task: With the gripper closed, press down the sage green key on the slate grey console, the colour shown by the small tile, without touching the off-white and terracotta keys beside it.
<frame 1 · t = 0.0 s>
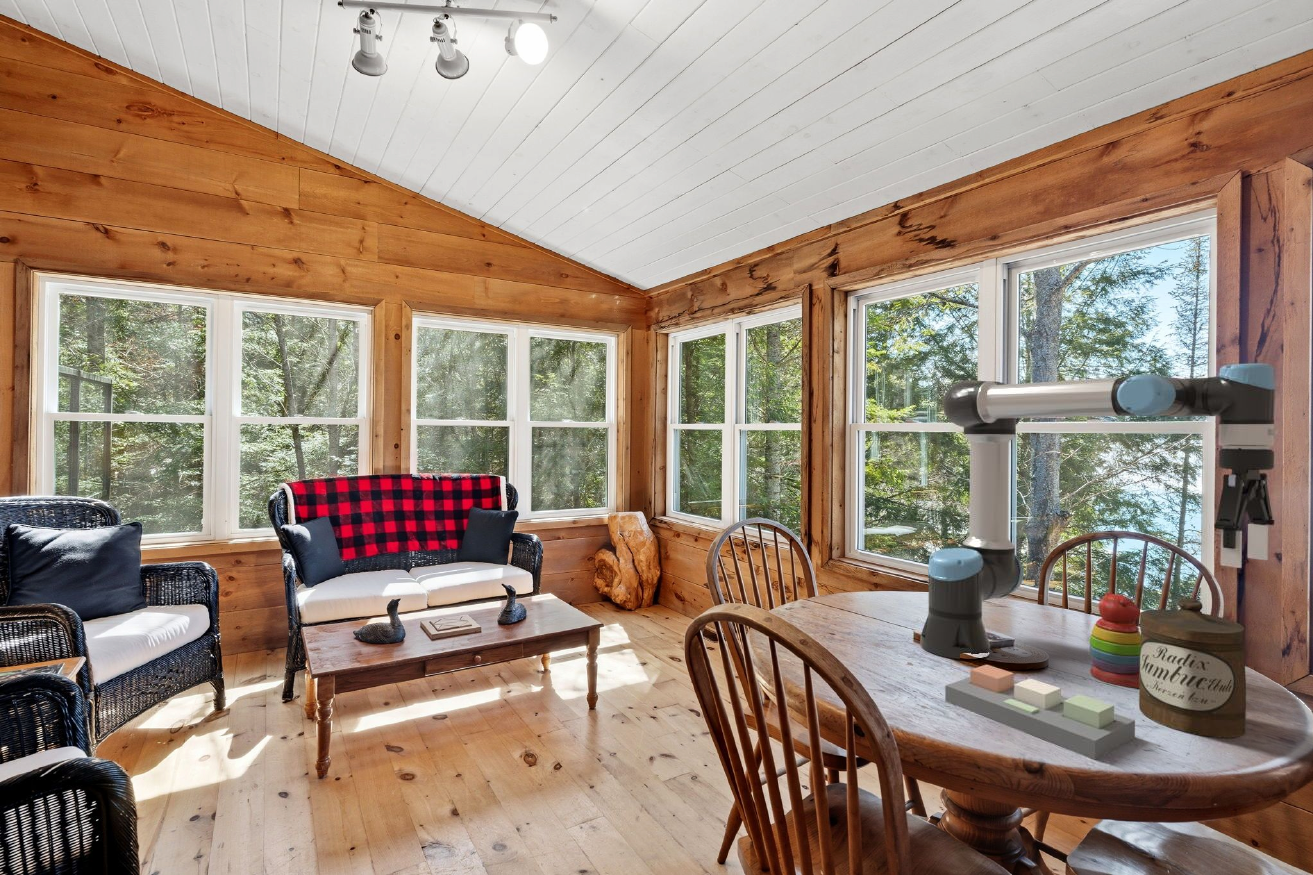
hand: (1244, 562, 118), 28 cm above the table, tool pointing down, fingers open, 13 cm apart
console: (1034, 718, 116), on the table
stacking bear: (1117, 679, 135), on the table
terracotta key: (991, 679, 124), point 4 cm above the table, slide at 0.0 cm
wooden container: (1190, 720, 116), on the table
sage green key: (1088, 711, 109), point 4 cm above the table, slide at 0.0 cm
off-white key: (1037, 694, 117), point 4 cm above the table, slide at 0.0 cm
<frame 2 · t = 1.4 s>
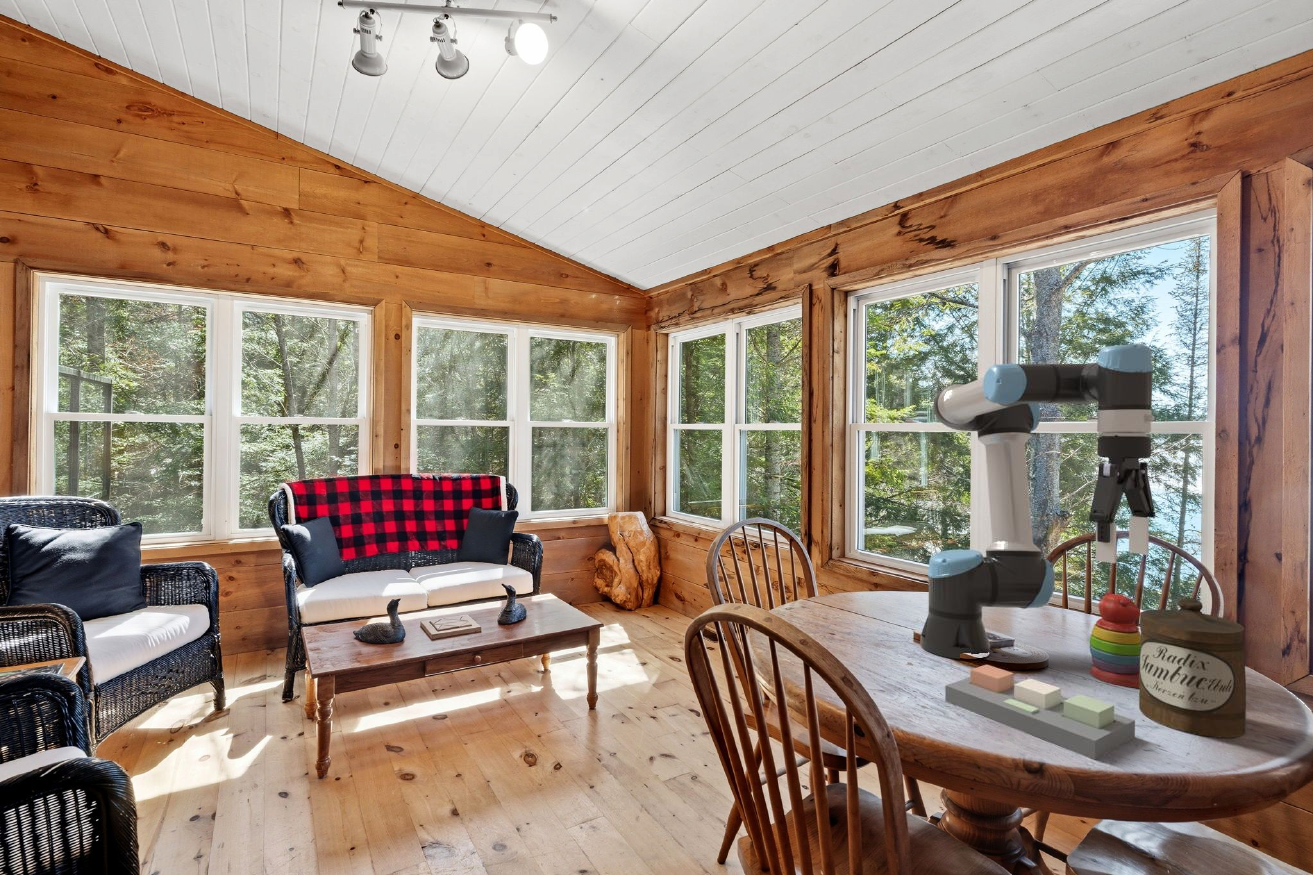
hand: (1122, 557, 111), 30 cm above the table, tool pointing down, fingers open, 13 cm apart
nothing on the table moved.
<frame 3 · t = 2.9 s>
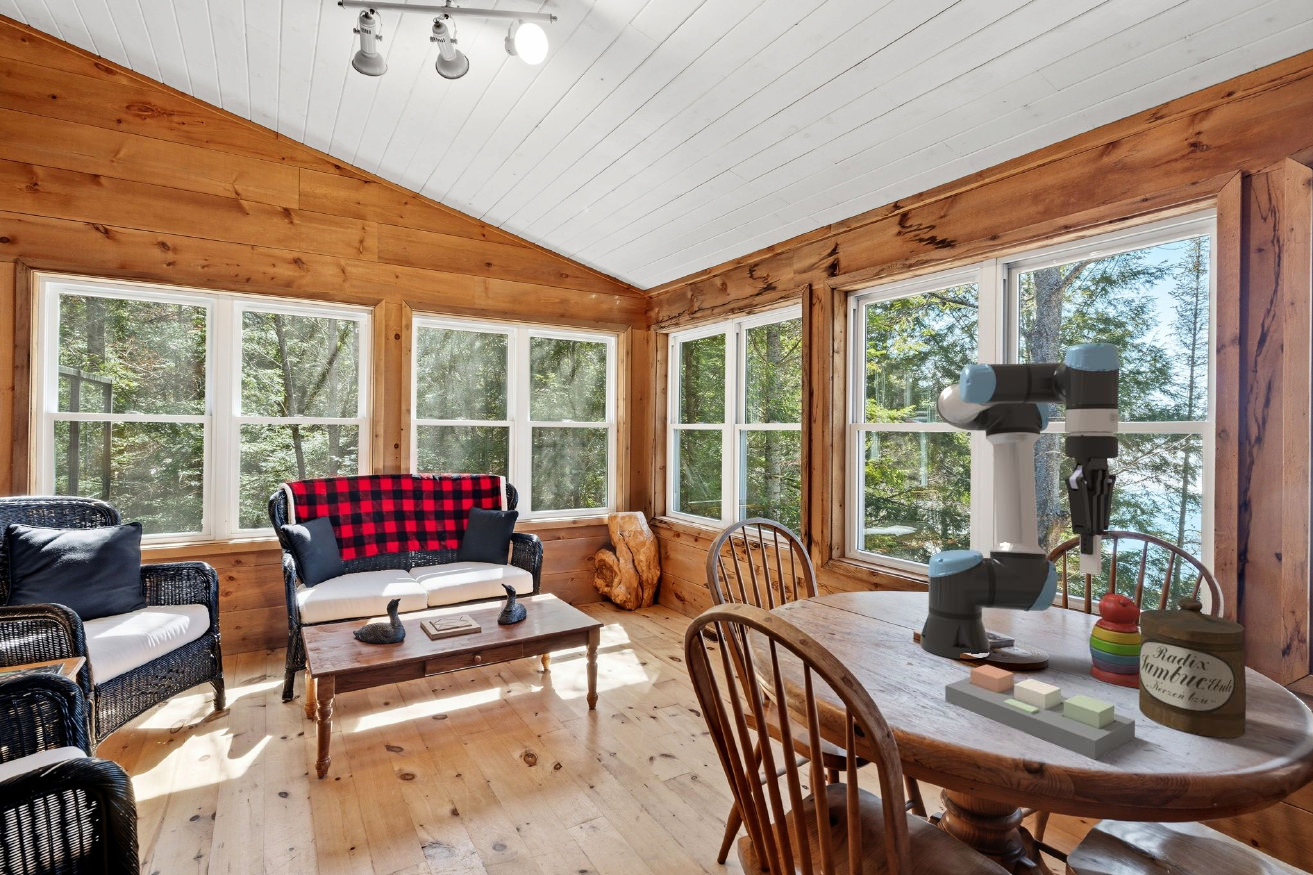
hand: (1090, 572, 109), 28 cm above the table, tool pointing down, fingers closed
nothing on the table moved.
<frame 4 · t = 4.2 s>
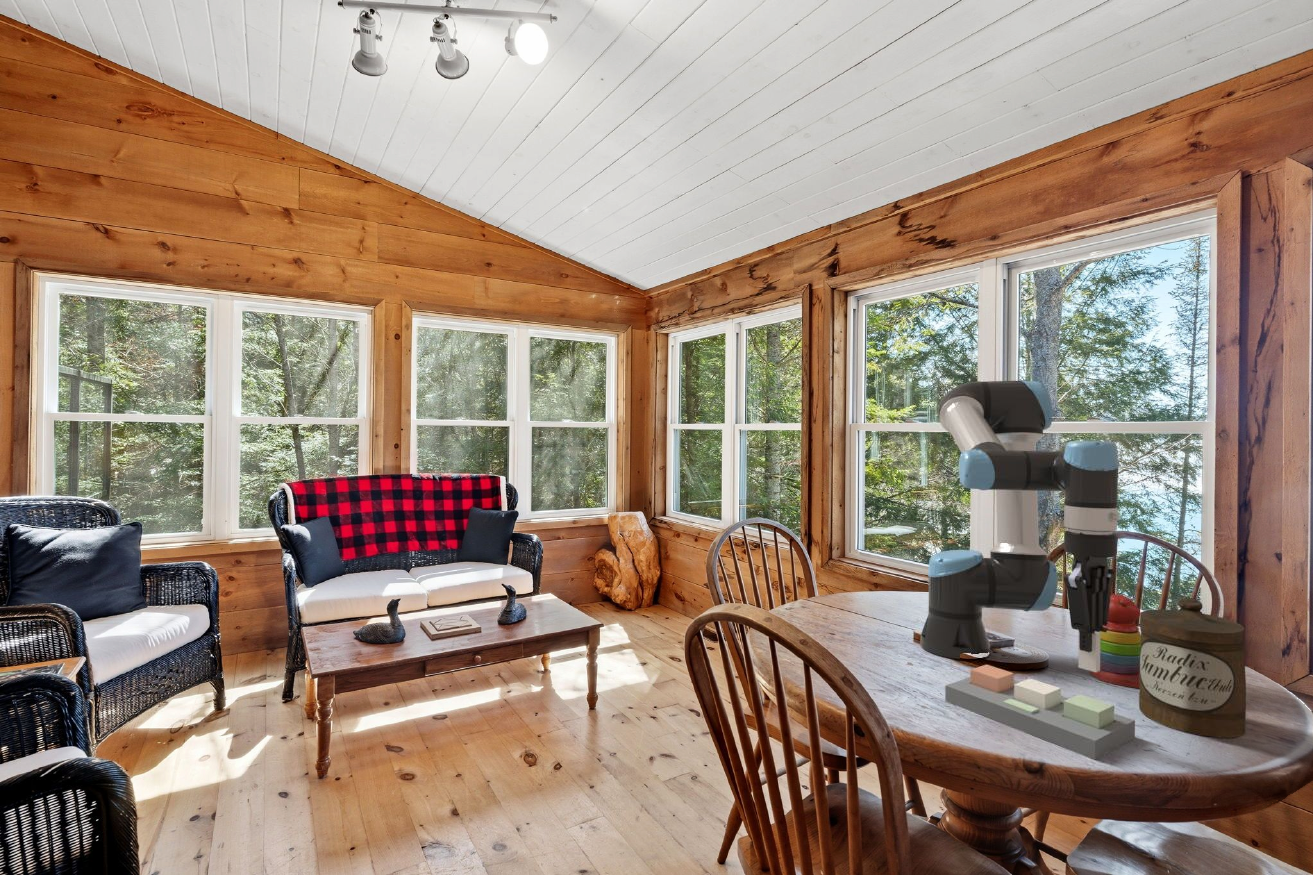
hand: (1089, 668, 109), 11 cm above the table, tool pointing down, fingers closed
nothing on the table moved.
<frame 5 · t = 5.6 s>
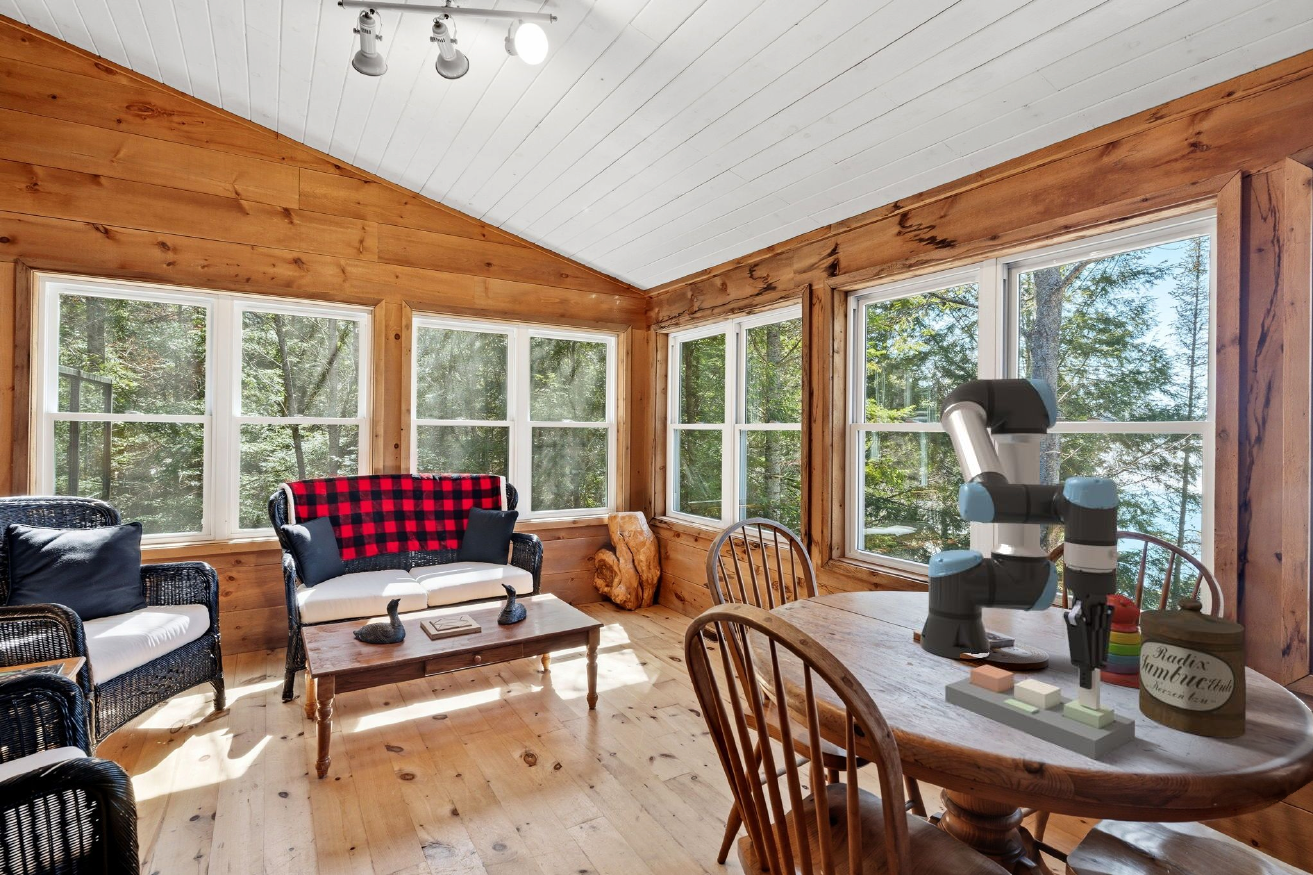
hand: (1089, 705, 109), 5 cm above the table, tool pointing down, fingers closed
sage green key: (1088, 715, 109), point 3 cm above the table, slide at 0.7 cm, touching gripper
everything else where it was.
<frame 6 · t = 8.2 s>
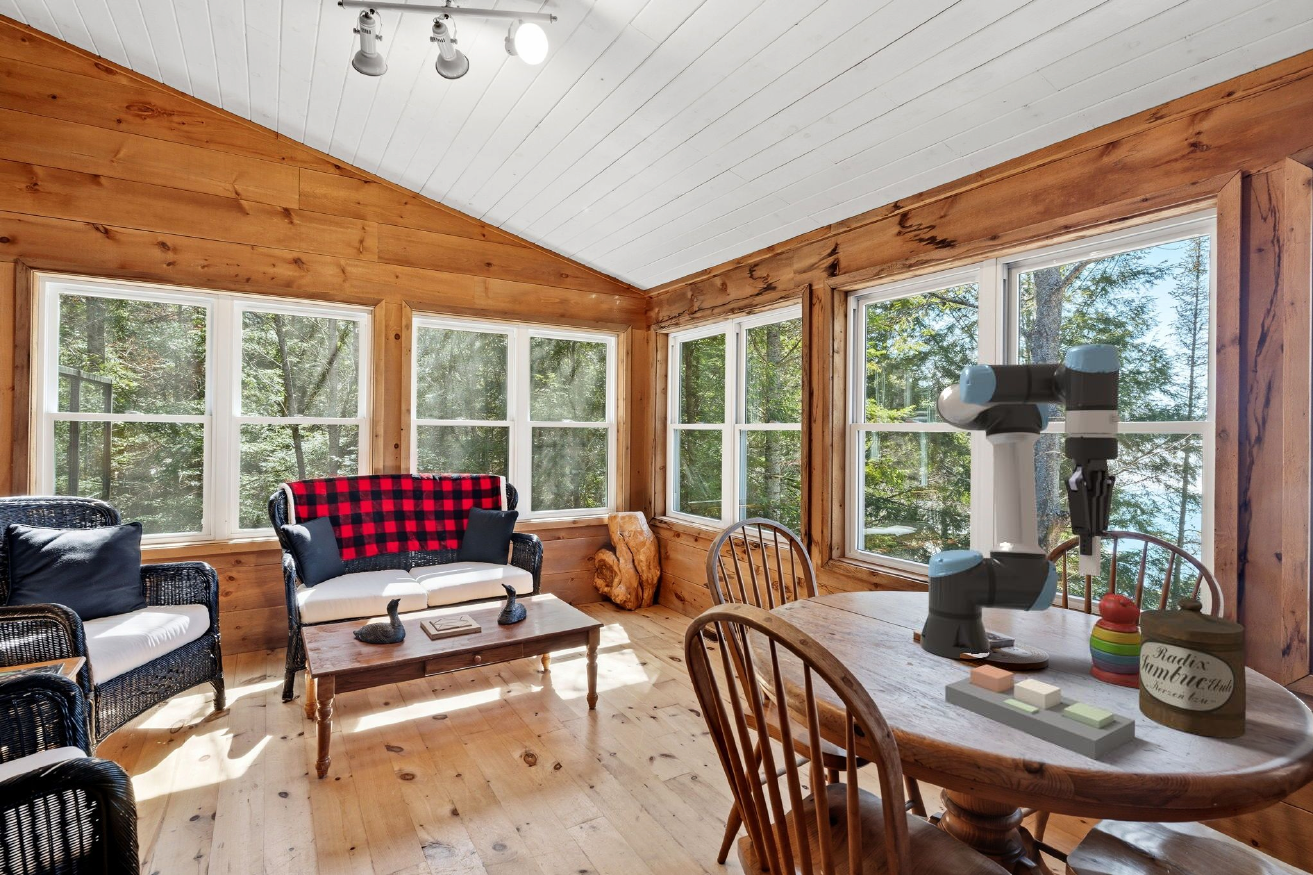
hand: (1089, 573, 109), 28 cm above the table, tool pointing down, fingers closed
sage green key: (1088, 719, 109), point 3 cm above the table, slide at 1.4 cm
everything else where it was.
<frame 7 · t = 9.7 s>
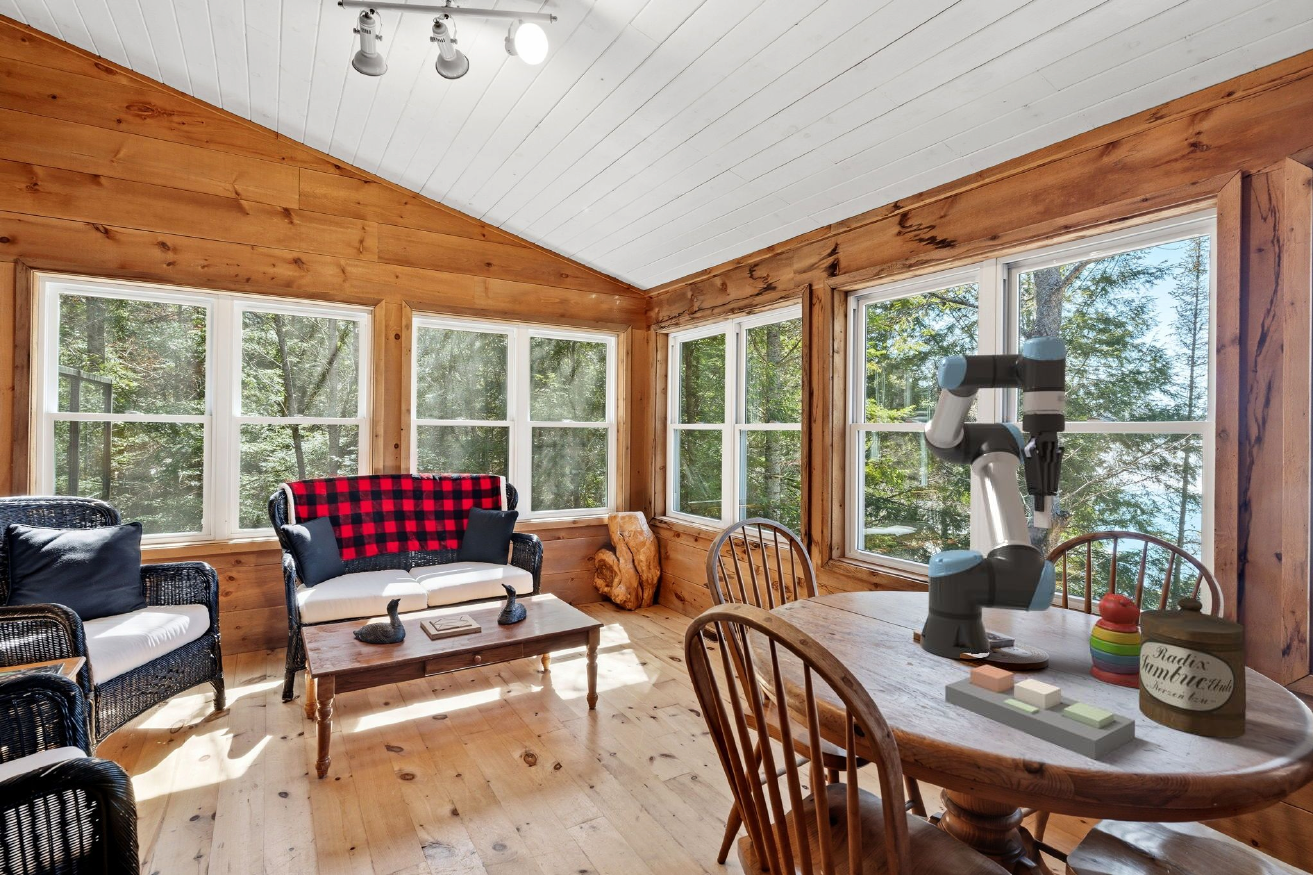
hand: (1042, 527, 132), 32 cm above the table, tool pointing down, fingers closed
nothing on the table moved.
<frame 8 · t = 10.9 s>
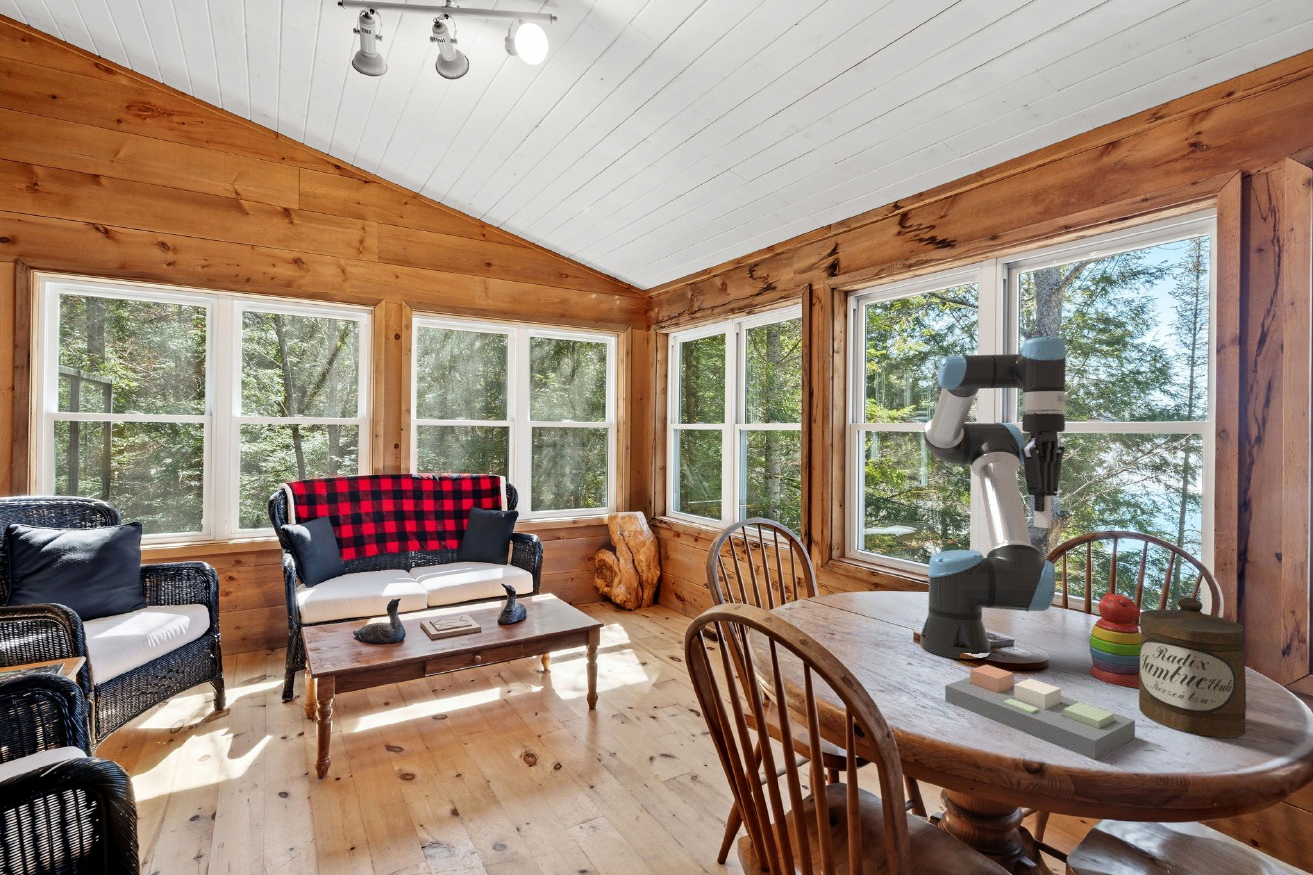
hand: (1042, 527, 132), 32 cm above the table, tool pointing down, fingers closed
nothing on the table moved.
at the end: sage green key slide at 1.4 cm; off-white key slide at 0.0 cm; terracotta key slide at 0.0 cm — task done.
